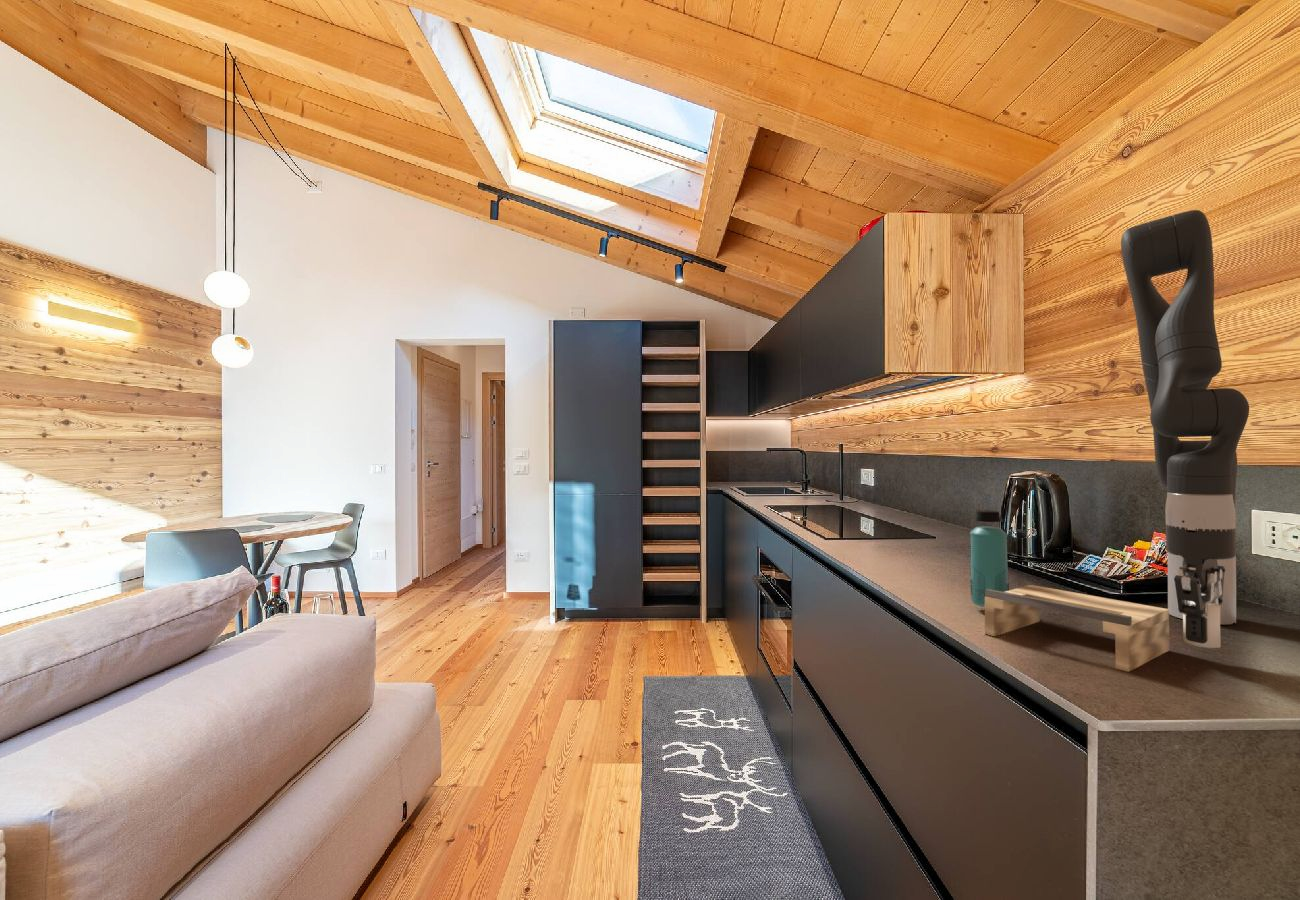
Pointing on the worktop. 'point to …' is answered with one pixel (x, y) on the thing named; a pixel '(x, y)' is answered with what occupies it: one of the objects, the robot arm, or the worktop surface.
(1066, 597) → the shelf
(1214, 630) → the white cylinder
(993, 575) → the beverage bottle
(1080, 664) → the worktop surface
